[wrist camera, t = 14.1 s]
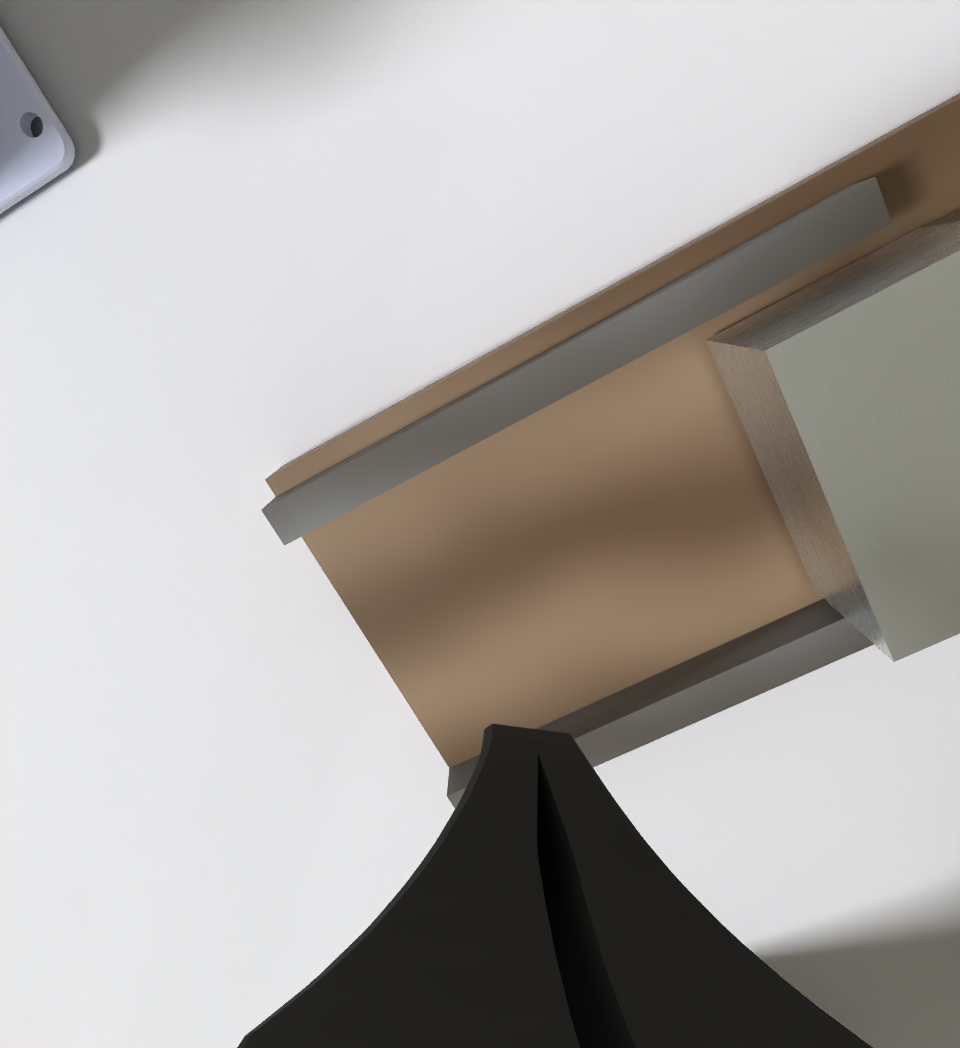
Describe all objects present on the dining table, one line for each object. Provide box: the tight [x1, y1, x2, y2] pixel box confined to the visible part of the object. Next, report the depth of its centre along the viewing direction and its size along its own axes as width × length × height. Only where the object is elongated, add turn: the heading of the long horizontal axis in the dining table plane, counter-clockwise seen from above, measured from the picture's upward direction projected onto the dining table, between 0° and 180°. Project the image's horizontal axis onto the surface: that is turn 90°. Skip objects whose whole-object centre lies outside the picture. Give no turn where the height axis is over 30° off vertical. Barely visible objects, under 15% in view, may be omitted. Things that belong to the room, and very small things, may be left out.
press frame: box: [262, 94, 960, 809], centre depth 15 cm, size 11×24×8 cm, turn 118°
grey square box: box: [706, 211, 960, 662], centre depth 15 cm, size 7×6×4 cm
